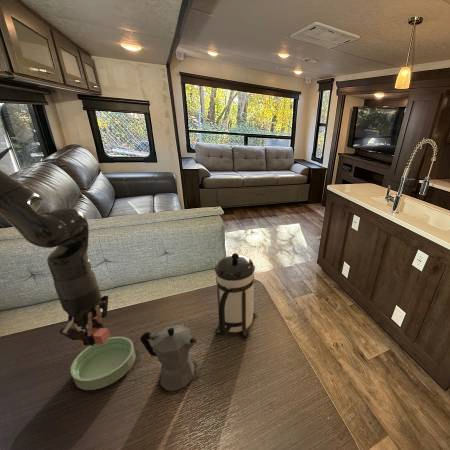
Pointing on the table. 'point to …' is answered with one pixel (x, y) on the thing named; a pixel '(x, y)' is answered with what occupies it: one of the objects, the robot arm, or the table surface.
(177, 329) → the coffeepot
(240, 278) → the coffee press
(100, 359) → the bowl
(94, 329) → the eraser
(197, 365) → the table surface
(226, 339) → the table surface
